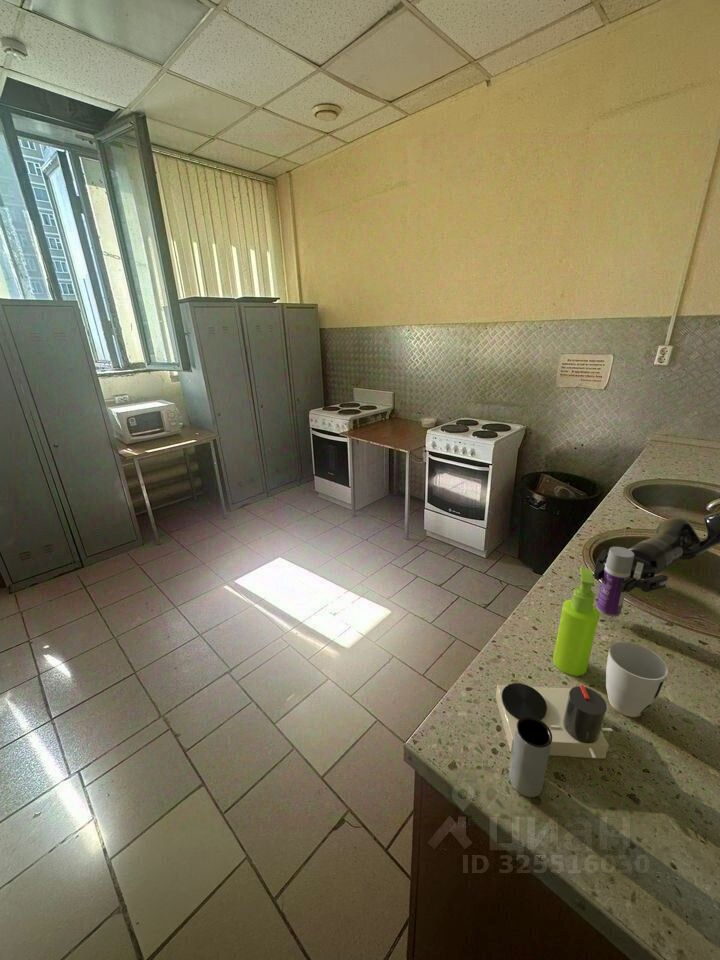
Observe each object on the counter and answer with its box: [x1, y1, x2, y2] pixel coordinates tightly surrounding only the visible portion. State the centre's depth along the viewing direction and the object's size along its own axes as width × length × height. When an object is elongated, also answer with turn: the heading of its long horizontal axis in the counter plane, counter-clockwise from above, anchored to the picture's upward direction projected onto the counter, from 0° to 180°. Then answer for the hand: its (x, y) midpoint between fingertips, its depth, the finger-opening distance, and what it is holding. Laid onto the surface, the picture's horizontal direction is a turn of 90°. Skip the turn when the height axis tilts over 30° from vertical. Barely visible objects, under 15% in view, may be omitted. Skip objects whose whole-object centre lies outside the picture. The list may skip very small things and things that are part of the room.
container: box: [595, 546, 634, 617], centre depth 86 cm, size 5×5×15 cm
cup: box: [605, 641, 669, 718], centre depth 67 cm, size 8×8×10 cm
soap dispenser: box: [552, 566, 600, 677], centre depth 74 cm, size 6×7×20 cm
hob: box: [495, 684, 613, 760], centre depth 64 cm, size 16×12×3 cm
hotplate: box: [502, 682, 547, 720], centre depth 66 cm, size 7×7×1 cm
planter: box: [508, 716, 552, 798], centre depth 56 cm, size 4×4×10 cm
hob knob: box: [563, 684, 608, 744], centre depth 60 cm, size 5×5×6 cm
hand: (609, 581), depth 84 cm, fingers closed on container, 4 cm apart
